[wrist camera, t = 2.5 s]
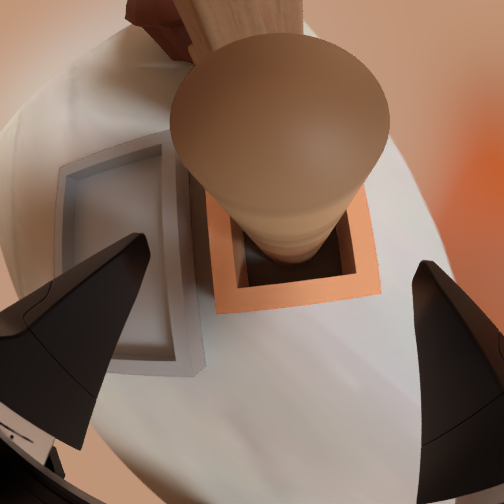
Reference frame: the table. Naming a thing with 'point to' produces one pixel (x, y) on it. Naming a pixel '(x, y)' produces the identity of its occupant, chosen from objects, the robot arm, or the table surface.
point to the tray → (159, 240)
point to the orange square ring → (301, 292)
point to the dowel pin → (281, 136)
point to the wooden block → (235, 21)
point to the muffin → (161, 25)
